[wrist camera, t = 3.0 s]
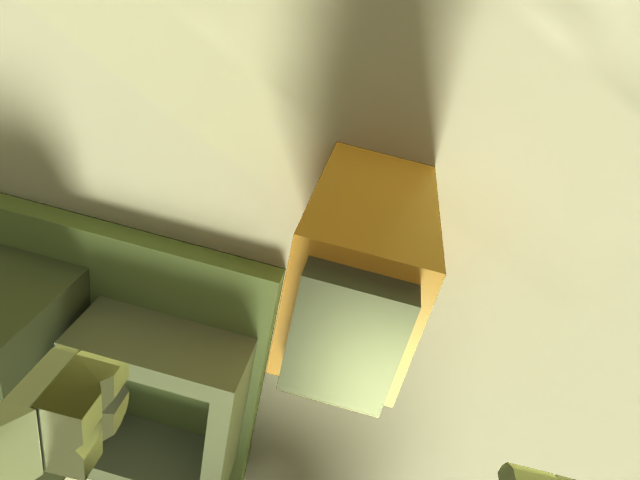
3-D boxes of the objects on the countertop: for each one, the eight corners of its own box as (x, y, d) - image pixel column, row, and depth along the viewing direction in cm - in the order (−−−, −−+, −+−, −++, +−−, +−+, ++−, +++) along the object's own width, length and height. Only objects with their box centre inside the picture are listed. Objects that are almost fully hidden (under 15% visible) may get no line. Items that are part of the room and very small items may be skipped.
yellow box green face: (434, 166, 19) (448, 296, 12) (399, 270, 22) (390, 434, 14) (336, 141, 20) (284, 253, 12) (312, 247, 22) (256, 396, 14)
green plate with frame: (285, 269, 23) (236, 380, 17) (243, 478, 31) (200, 606, 25) (-75, 172, 24) (-250, 244, 17) (-25, 400, 32) (-133, 505, 25)
